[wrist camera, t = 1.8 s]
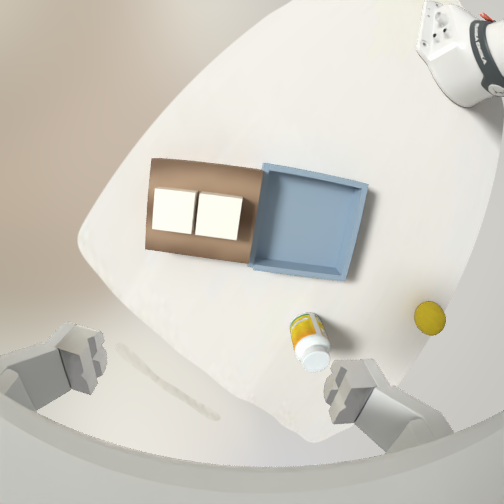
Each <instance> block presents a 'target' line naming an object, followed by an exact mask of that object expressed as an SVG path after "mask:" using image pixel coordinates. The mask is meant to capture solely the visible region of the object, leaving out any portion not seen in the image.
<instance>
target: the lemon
mask: <svg viewBox="0 0 504 504" xmlns="http://www.w3.org/2000/svg"><path fill="white" fill-rule="evenodd" d="M414 319H415V323H416V325H417V327H418V328H419V329H420V330H421V331H422V332H423V333H425V334H427V335H436V334H438V333H440V332H441V331H442V330H443V328H444V326H445V322H446V317H445V314H444V312H443V310H442V308H441V307H440V306H439V305H438V304H436V303H435V302H431V301H426V302H423V303H422V304H420V305H419V306H418V307H417V309H416V311H415V315H414Z"/></svg>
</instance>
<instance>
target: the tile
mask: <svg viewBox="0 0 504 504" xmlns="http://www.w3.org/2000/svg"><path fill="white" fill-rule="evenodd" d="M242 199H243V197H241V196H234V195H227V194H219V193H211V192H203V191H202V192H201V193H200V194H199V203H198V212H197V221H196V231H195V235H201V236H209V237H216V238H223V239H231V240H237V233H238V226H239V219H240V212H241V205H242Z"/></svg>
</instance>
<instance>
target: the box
mask: <svg viewBox="0 0 504 504" xmlns="http://www.w3.org/2000/svg"><path fill="white" fill-rule="evenodd" d="M262 170H263V177H262V183H261V189H260V196H259V202H258V208H257V215H256V221H255V227H254V233H253V240H252V246H251V252H250V259H249V264H248V267H253V270H257V271H264V272H272V273H280V274H288V275H296V276H304V277H312V278H320V279H328V280H337V281H345V280H346V277H347V273H348V269H349V266H350V262H351V258H352V255H353V251H354V247H355V243H356V239H357V235H358V231H359V227H360V222H361V218H362V214H363V209H364V204H365V200H366V195H367V190H368V185H369V184H365V183H361V182H357V181H353V180H349V179H345V178H340V177H336V176H331V175H327V174H322V173H317V172H312V171H307V170H302V169H297V168H291V167H286V166H280V165H274V164H268V163H263V165H262Z"/></svg>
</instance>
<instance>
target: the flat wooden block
mask: <svg viewBox="0 0 504 504" xmlns="http://www.w3.org/2000/svg"><path fill="white" fill-rule="evenodd" d="M262 177H263V170H259V169H253V168H246V167H239V166H231V165H224V164H215V163H207V162H197V161H187V160H176V159H164V158H152V160H151V169H150V179H149V190H148V203H147V220H146V243H145V249H148V250H155V251H162V252H169V253H175V254H182V255H190V256H197V257H204V258H211V259H218V260H225V261H233V262H240V263H247V264H249V259H250V252H251V246H252V240H253V233H254V227H255V221H256V215H257V208H258V202H259V196H260V189H261V183H262ZM158 187H167V188H177V189H186V190H195V191H198V198H197V206H196V216H195V226H194V231H193V232H192V234H186V233H179V232H171V231H164V230H156V229H152V221H153V206H154V193H155V188H158ZM202 191H203V192H211V193H219V194H227V195H234V196H241V197H243V199H242V205H241V212H240V219H239V226H238V233H237V240H231V239H223V238H216V237H209V236H201V235H195V231H196V221H197V212H198V203H199V194H200V193H201V192H202Z"/></svg>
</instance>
